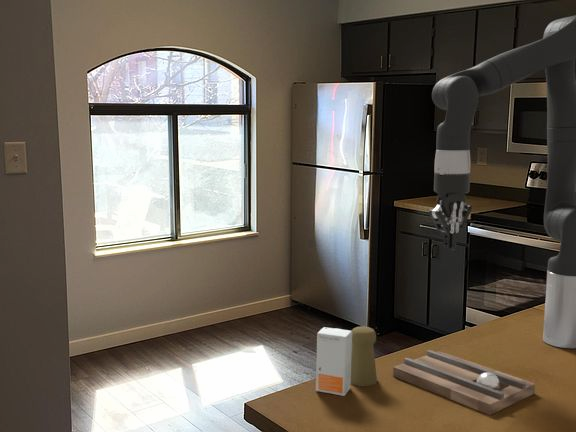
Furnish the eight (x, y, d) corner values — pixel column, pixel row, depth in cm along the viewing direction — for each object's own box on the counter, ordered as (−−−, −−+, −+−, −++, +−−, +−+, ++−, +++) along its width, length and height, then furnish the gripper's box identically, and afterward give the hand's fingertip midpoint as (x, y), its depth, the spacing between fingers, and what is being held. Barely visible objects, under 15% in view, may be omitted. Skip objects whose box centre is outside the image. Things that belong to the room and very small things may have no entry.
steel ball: (508, 389, 125) (490, 396, 128) (498, 367, 126) (481, 374, 129) (495, 394, 122) (477, 400, 125) (485, 371, 124) (468, 378, 127)
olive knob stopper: (376, 387, 129) (377, 333, 128) (345, 384, 130) (346, 331, 129) (378, 375, 135) (379, 324, 134) (349, 373, 136) (350, 322, 135)
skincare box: (315, 391, 127) (315, 332, 125) (322, 383, 131) (323, 326, 129) (345, 397, 125) (346, 336, 123) (351, 388, 129) (352, 330, 127)
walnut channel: (438, 359, 144) (439, 346, 144) (534, 393, 127) (535, 378, 126) (392, 376, 135) (393, 362, 135) (489, 415, 117) (490, 399, 117)
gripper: (455, 168, 148) (453, 243, 151) (419, 171, 140) (417, 251, 142) (484, 170, 143) (481, 248, 145) (448, 173, 134) (445, 256, 137)
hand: (449, 249), depth 144 cm, fingers closed
